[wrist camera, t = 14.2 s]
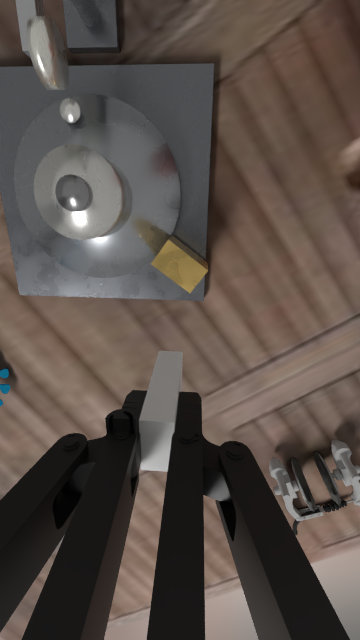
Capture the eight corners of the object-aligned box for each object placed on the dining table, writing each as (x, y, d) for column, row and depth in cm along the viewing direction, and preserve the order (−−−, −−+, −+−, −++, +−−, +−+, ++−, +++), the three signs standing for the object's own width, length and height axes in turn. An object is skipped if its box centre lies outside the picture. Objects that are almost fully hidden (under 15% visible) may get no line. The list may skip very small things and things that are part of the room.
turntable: (156, 325, 38) (149, 345, 32) (-2, 212, 34) (-40, 212, 29) (249, 207, 32) (259, 206, 27) (71, 56, 29) (41, 20, 23)
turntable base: (24, 292, 39) (18, 295, 38) (-15, 72, 31) (-24, 66, 29) (203, 298, 38) (203, 301, 36) (213, 69, 29) (214, 62, 28)
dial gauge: (79, 135, 32) (-15, 76, 18) (65, -13, 28) (-72, -241, 14) (124, 135, 32) (63, 75, 18) (117, -14, 28) (30, -249, 14)
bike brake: (256, 454, 45) (289, 519, 54) (268, 498, 39) (303, 564, 48) (345, 427, 42) (365, 500, 51) (373, 470, 36) (390, 545, 45)
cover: (90, 251, 33) (67, 257, 27) (44, 187, 31) (9, 179, 25) (147, 209, 31) (134, 207, 25) (101, 139, 29) (77, 119, 24)
